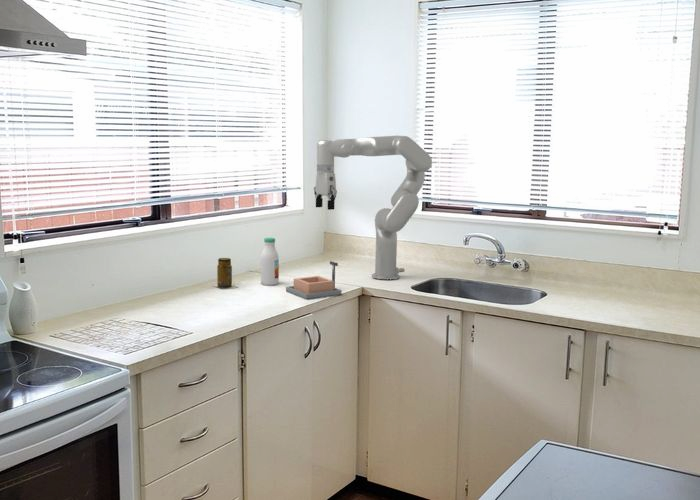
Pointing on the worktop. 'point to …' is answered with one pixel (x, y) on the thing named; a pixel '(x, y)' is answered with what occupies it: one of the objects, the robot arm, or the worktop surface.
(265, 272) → the milk bottle
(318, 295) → the tray
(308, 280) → the ring
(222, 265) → the condiment
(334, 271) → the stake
